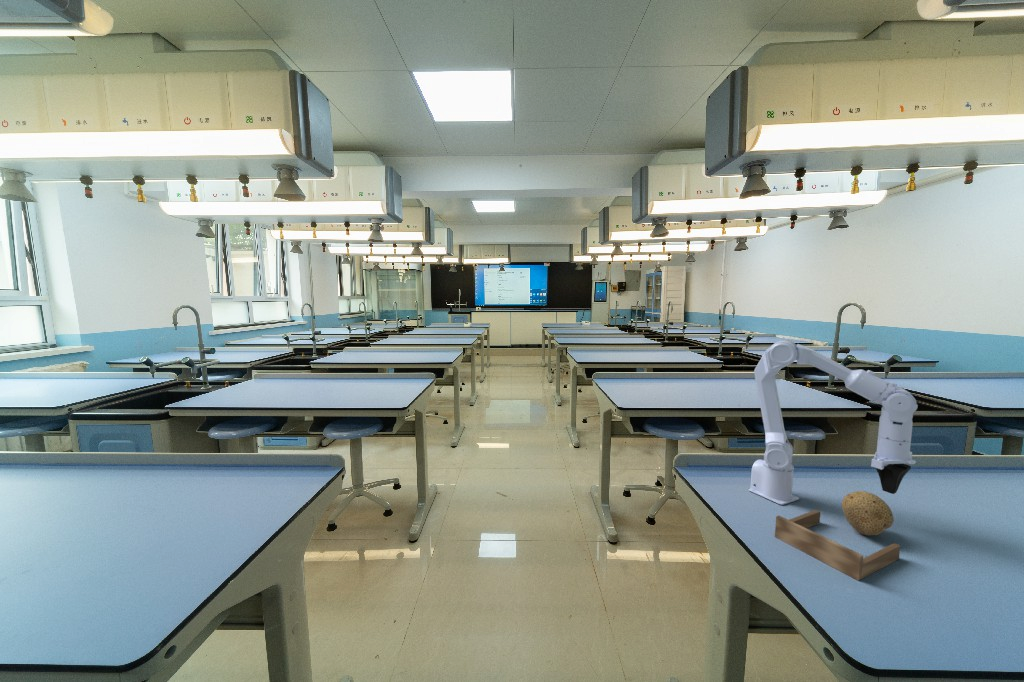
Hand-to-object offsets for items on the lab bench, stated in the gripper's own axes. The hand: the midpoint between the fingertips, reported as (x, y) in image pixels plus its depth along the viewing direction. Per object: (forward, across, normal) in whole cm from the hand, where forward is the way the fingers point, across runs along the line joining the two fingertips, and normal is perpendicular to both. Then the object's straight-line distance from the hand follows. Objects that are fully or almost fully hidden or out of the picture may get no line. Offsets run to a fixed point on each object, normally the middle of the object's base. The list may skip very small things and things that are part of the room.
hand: (889, 491), depth 96 cm
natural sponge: (+8, -10, 0) cm, 13 cm away
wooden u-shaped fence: (+8, -22, 0) cm, 24 cm away
